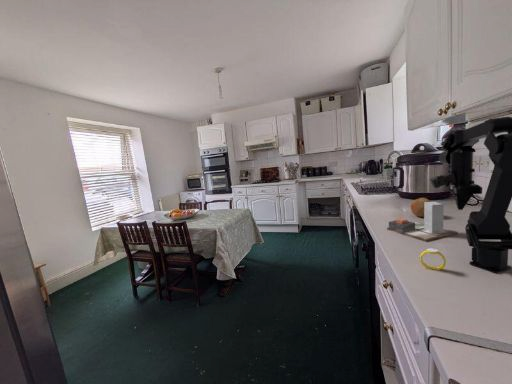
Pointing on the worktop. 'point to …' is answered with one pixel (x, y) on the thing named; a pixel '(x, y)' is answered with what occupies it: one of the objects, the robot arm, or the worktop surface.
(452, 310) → the worktop surface
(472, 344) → the worktop surface
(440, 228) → the skincare box
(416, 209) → the onion
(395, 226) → the square tray
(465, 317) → the worktop surface
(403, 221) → the button
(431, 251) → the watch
